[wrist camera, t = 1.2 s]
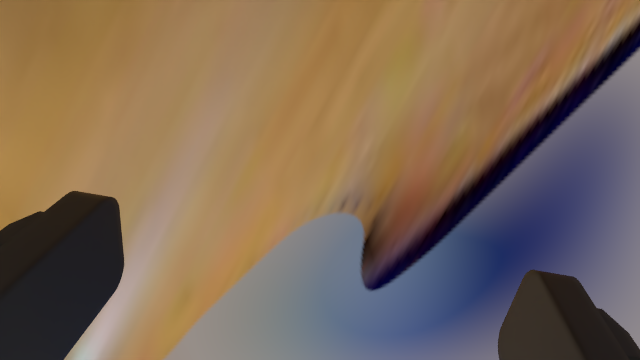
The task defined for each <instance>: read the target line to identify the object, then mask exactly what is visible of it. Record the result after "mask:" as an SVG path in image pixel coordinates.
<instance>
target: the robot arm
mask: <svg viewBox="0 0 640 360" xmlns="http://www.w3.org/2000/svg"><path fill="white" fill-rule="evenodd" d="M123 268H124V254H123V243H122V232H121V221H120V210H119V205H118V202H117V200H116V199H115V198H113V197H108V196H102V195H96V194H90V193H84V192H78V191H72V192H69V193H68V194H66V195H65V196H64V197H62V198H61V199H60V200H59V201H57V202H56V203H55V204H54V205H52V206H51V207H50V208H49V209H47V210H46V211H45V212H40V211H39V212H37V213H34V214H32V215H30V216H27V217H25V218H23V219H20V220H18V221H16V222H13V223H11V224H9V225H7V226H6V227H5V228H3V229H2V230H1V231H0V360H64V358H65V357H66V356H67V354H68V353H69V352H70V350H71V349H72V348H73V346H74V345H75V344H76V342H77V341H78V340H79V338H80V337H81V336H82V334H83V333H84V332H85V330H86V329H87V328H88V326H89V325H90V324H91V323H92V321H93V320H94V319H95V317H96V316H97V315H98V313H99V312H100V311H101V309H102V308H103V307H104V305H105V304H106V303H107V301H108V300H109V299H110V297H111V296H112V295H113V293H114V292H115V291H116V289H117V287H118V285H119V283H120V280H121V277H122V273H123ZM498 354H499V360H640V349H639V348H638V346H637V345H636V343H635V342H634V340H633V339H632V337H631V336H630V334H629V333H628V332H627V331H626V330H624V328H622V327H621V326H620V325H619V324H618V323H617V322H616V321H615V320H614V319H612V318H611V317H610V316H609V315H608V314H607V313H606V312H605V311H604V310H602V309H598V308H596V307H595V305H594V304H593V302H592V300H591V299H590V297H589V296H588V294H587V293H586V291H585V289H584V288H583V286H582V285H581V283H580V282H579V281H578V280H577V279H576V278H575V277H572V276H566V275H560V274H554V273H548V272H542V271H536V270H530V271H529V272H527V273H526V274H525V276H524V278H523V279H522V282H521V284H520V286H519V289H518V291H517V293H516V295H515V297H514V300H513V302H512V304H511V306H510V308H509V311H508V313H507V315H506V317H505V320H504V322H503V324H502V327H501V329H500V333H499V339H498Z"/></svg>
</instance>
